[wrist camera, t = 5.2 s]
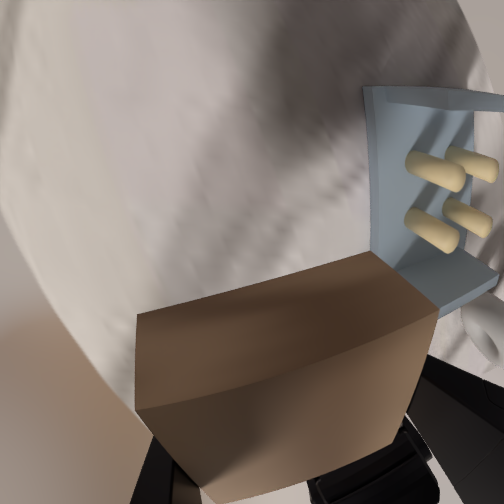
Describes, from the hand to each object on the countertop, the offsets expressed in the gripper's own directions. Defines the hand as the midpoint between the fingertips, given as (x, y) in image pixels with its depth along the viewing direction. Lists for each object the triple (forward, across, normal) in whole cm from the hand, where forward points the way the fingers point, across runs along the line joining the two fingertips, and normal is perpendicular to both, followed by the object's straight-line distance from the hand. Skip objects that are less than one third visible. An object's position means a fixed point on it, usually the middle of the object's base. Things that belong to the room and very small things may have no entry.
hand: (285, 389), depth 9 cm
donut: (+11, -24, +15) cm, 30 cm away
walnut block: (+1, 0, 0) cm, 1 cm away
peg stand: (+11, -15, 0) cm, 19 cm away
